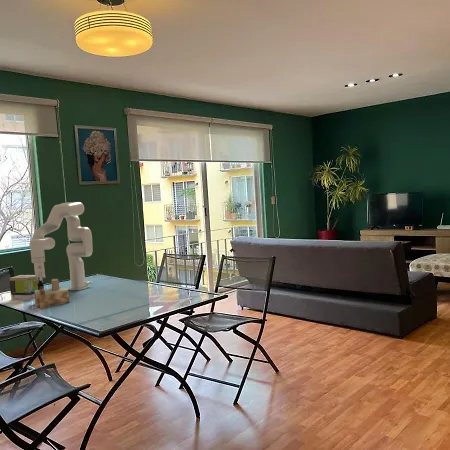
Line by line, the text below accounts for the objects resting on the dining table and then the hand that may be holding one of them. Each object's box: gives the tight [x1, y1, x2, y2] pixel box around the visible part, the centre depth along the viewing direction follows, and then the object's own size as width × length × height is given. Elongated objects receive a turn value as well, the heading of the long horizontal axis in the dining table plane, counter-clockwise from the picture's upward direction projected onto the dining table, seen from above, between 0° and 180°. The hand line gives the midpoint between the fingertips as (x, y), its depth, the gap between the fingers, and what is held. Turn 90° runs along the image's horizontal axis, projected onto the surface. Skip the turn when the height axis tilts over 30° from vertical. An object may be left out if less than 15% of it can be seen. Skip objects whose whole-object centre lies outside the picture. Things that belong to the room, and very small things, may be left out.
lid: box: [35, 278, 69, 296], centre depth 271 cm, size 18×12×8 cm, turn 118°
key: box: [39, 286, 45, 294], centre depth 264 cm, size 2×10×3 cm, turn 28°
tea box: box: [8, 274, 38, 301], centre depth 287 cm, size 15×10×15 cm, turn 71°
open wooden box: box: [34, 290, 70, 309], centre depth 270 cm, size 18×16×8 cm
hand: (40, 289), depth 270 cm, fingers closed
